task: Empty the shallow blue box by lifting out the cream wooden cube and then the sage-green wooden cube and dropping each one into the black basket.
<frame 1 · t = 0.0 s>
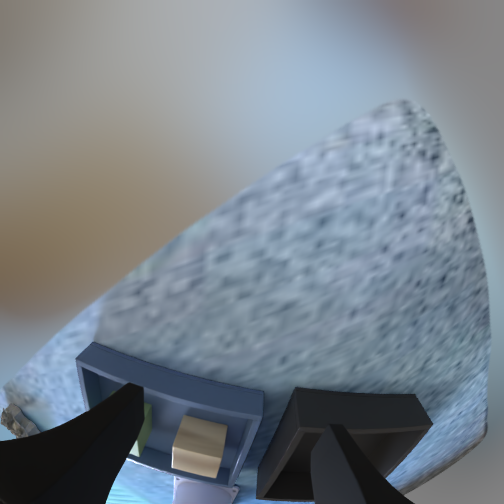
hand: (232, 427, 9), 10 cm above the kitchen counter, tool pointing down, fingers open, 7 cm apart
cream cube: (203, 432, 21), resting on blue box
black basket: (333, 439, 21), on the kitchen counter
egg carton: (32, 427, 26), on the kitchen counter
blue box: (168, 419, 22), on the kitchen counter
green cube: (132, 410, 21), resting on blue box
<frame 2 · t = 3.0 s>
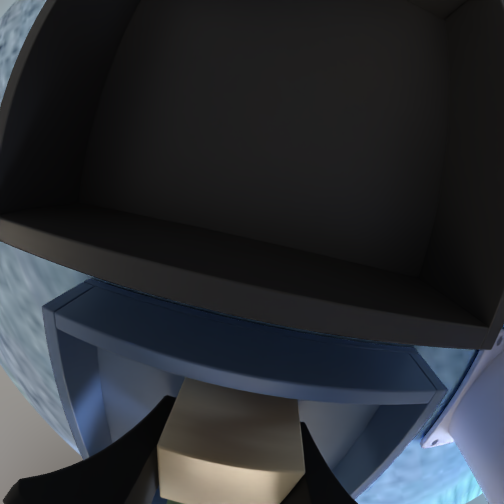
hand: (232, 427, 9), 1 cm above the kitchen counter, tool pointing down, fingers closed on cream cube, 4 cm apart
cream cube: (234, 412, 10), resting on blue box, touching gripper
black basket: (282, 72, 7), on the kitchen counter
blue box: (222, 447, 11), on the kitchen counter
when the fingers open (4 cm above the kitchen counter, at t = 6.6 s): cream cube drops 3 cm, resting on black basket.
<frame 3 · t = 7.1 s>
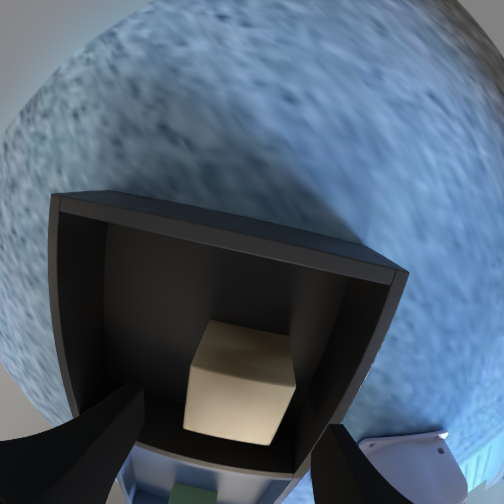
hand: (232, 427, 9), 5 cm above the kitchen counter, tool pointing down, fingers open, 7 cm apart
cream cube: (241, 359, 14), resting on black basket
black basket: (208, 330, 14), on the kitchen counter
blue box: (198, 476, 17), on the kitchen counter
green cube: (194, 494, 18), resting on blue box
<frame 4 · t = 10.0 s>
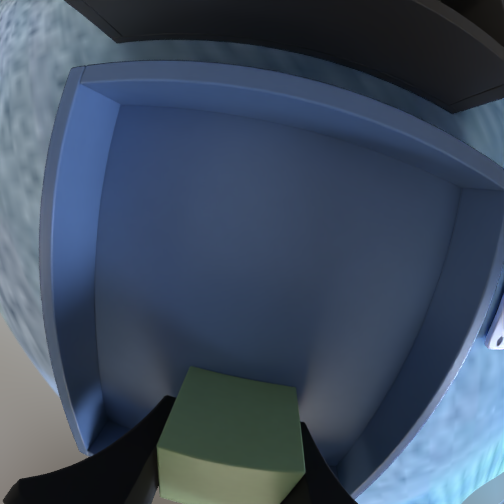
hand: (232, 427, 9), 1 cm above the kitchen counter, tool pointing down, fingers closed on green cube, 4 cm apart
blue box: (253, 337, 9), on the kitchen counter
green cube: (234, 412, 10), resting on blue box, touching gripper
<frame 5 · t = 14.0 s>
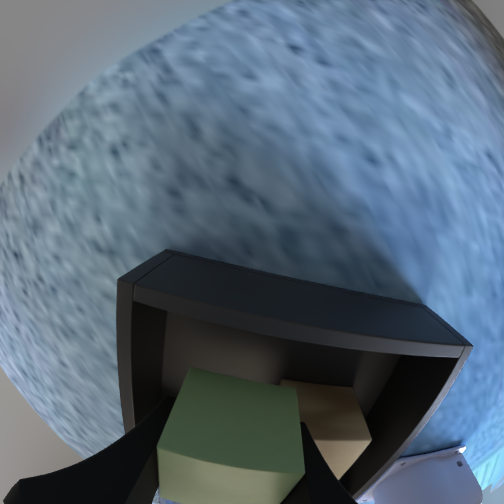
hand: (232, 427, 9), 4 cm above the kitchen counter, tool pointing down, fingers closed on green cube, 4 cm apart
cream cube: (306, 409, 13), resting on black basket, touching gripper
black basket: (275, 386, 13), on the kitchen counter
green cube: (233, 412, 10), point 4 cm above the kitchen counter, touching gripper
when the fingers open (4 cm above the kitchen counter, at t = 14.2 s): green cube drops 3 cm, resting on black basket.
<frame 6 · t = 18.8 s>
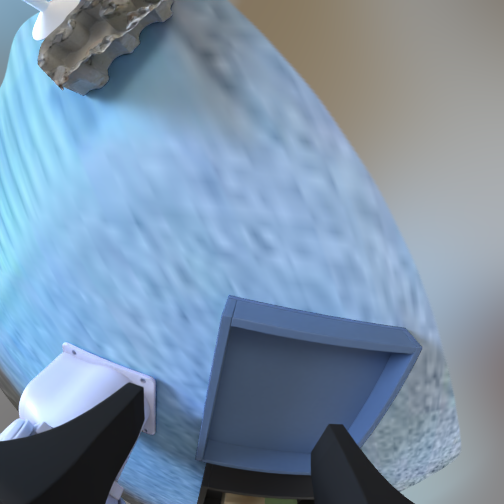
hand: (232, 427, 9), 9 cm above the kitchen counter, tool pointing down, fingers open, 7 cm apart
champagne flute: (56, 14, 13), on the kitchen counter
cream cube: (243, 483, 22), resting on black basket
black basket: (259, 485, 23), on the kitchen counter
egg carton: (112, 36, 14), on the kitchen counter
blue box: (294, 397, 19), on the kitchen counter
green cube: (275, 493, 23), resting on black basket
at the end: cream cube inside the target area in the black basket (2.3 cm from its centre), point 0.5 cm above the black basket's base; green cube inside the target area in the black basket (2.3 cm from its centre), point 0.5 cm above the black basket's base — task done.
